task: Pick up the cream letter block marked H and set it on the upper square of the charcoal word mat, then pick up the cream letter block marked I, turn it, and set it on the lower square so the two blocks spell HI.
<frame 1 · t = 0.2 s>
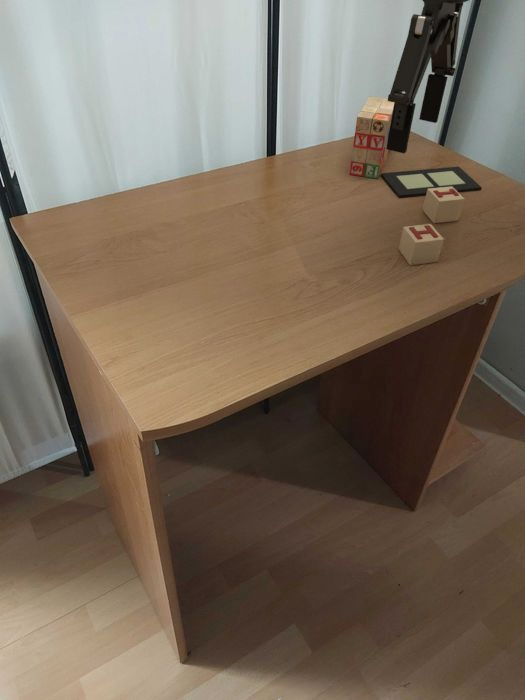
hand: (412, 135, 80), 20 cm above the table, tool pointing down, fingers open, 13 cm apart
tile I: (440, 215, 102), on the table
word mat: (429, 182, 112), on the table
tile H: (417, 255, 92), on the table
stack of blocks: (373, 158, 121), on the table
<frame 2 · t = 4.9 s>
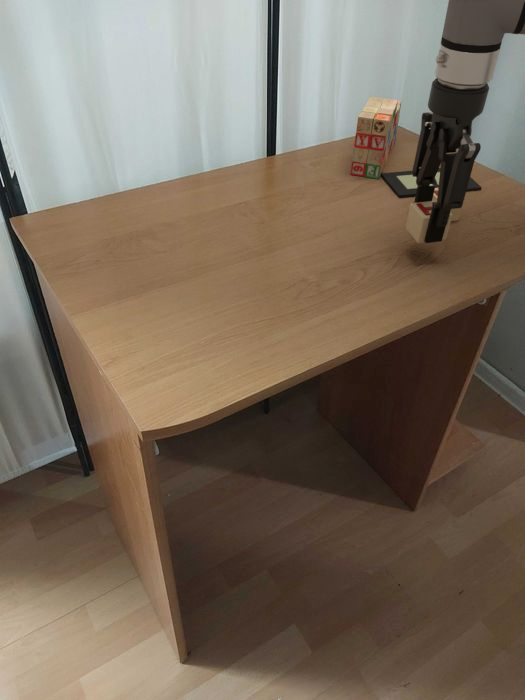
hand: (425, 231, 88), 5 cm above the table, tool pointing down, fingers closed on tile H, 5 cm apart
tile H: (425, 233, 88), point 4 cm above the table, touching gripper
everything else where it was.
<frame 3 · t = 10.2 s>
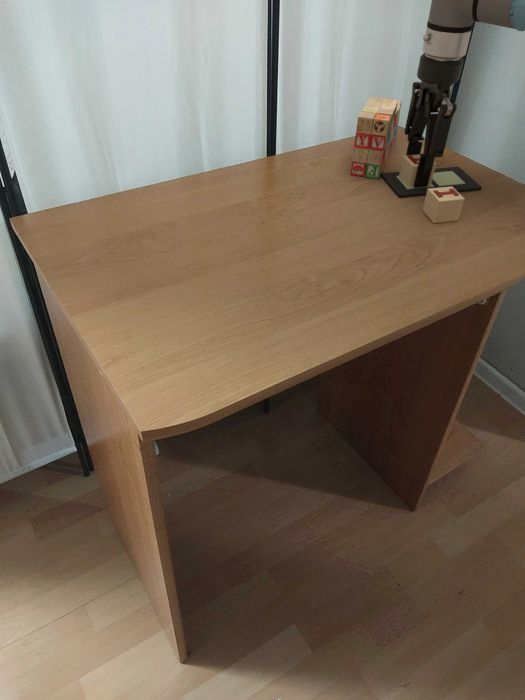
hand: (414, 179, 110), 1 cm above the table, tool pointing down, fingers closed on tile H, 5 cm apart
tile H: (414, 180, 111), point 1 cm above the table, touching gripper, word mat
everything else where it was.
when the fingers open (1 cm above the table, at t = 10.5 s): tile H stays where it is, resting on word mat.
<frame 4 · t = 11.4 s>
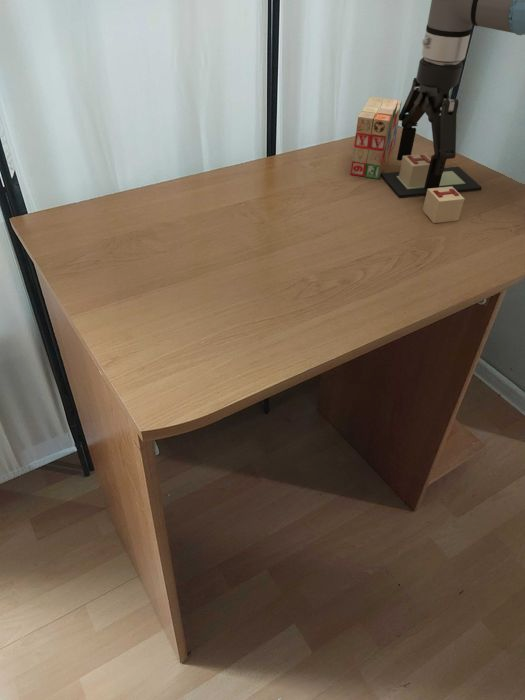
hand: (416, 173, 109), 2 cm above the table, tool pointing down, fingers open, 13 cm apart
tile H: (414, 180, 111), point 1 cm above the table, touching word mat
everything else where it was.
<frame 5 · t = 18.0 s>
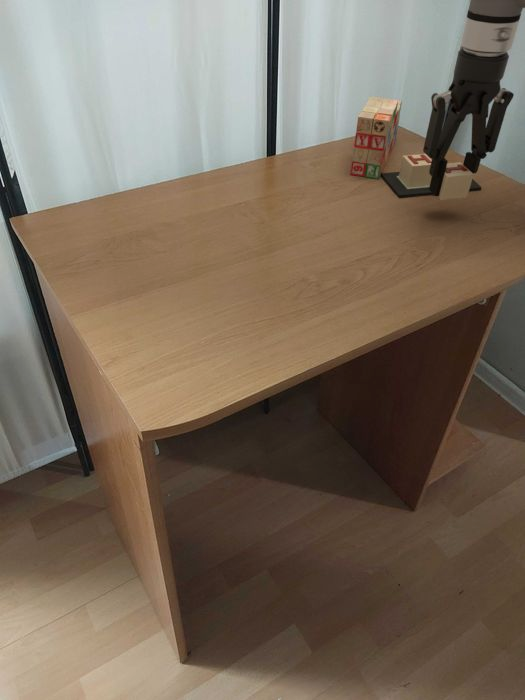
hand: (448, 191, 98), 5 cm above the table, tool pointing down, fingers closed on tile I, 5 cm apart
tile I: (448, 192, 98), point 5 cm above the table, touching gripper
everything else where it was.
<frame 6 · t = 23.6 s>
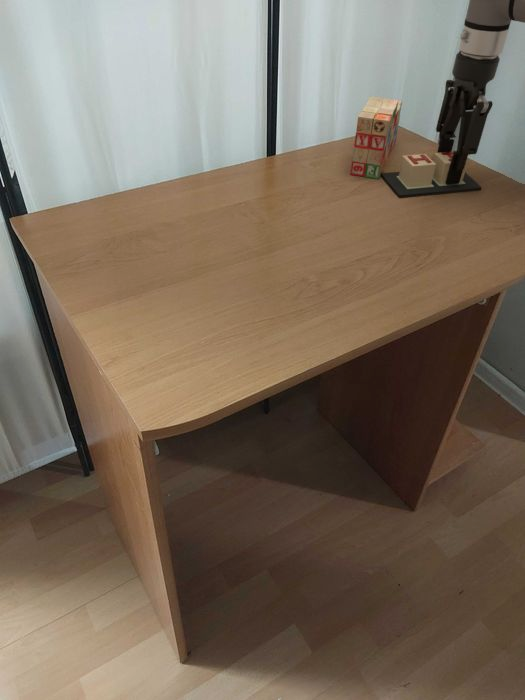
hand: (445, 176, 112), 1 cm above the table, tool pointing down, fingers closed on tile I, 5 cm apart
tile I: (445, 177, 112), point 1 cm above the table, touching gripper, word mat
everything else where it was.
when the fingers open (1 cm above the table, at t = 23.9 s): tile I stays where it is, resting on word mat.
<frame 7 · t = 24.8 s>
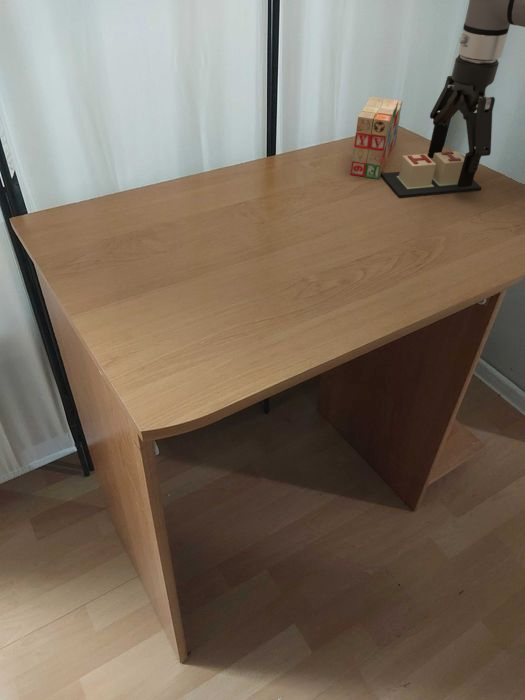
hand: (448, 171, 111), 2 cm above the table, tool pointing down, fingers open, 13 cm apart
tile I: (445, 177, 112), point 1 cm above the table, touching word mat
everything else where it was.
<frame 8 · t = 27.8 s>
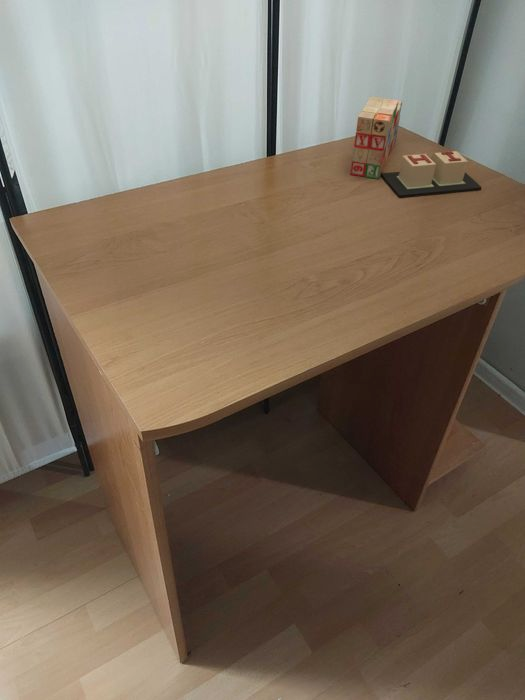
nothing on the table moved.
at the end: tile H 0.1 cm from the target spot on the word mat, point 0.7 cm above the word mat's base; tile I 0.1 cm from the target spot on the word mat, point 0.7 cm above the word mat's base; tile I tilted 0° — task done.
